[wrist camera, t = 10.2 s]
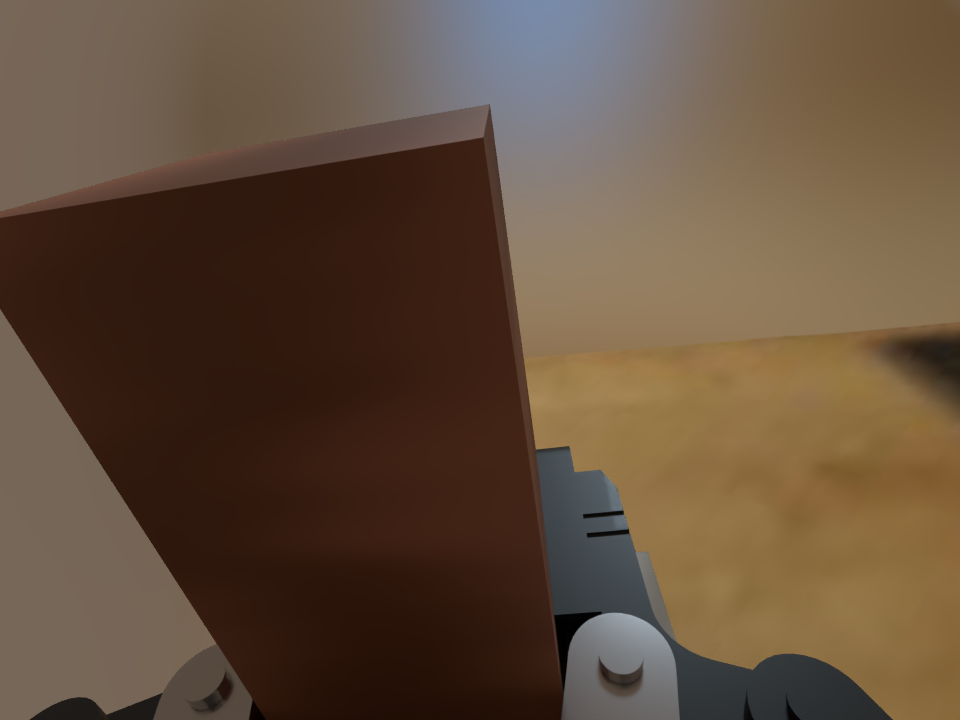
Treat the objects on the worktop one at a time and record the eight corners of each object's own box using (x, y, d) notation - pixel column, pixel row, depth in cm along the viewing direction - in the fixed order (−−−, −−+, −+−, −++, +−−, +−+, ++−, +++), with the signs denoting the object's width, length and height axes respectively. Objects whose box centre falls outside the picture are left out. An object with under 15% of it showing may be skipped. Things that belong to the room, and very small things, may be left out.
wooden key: (578, 767, 14) (489, 104, 6) (602, 972, 11) (483, 138, 3) (444, 773, 14) (208, 153, 7) (429, 974, 11) (-53, 225, 3)
